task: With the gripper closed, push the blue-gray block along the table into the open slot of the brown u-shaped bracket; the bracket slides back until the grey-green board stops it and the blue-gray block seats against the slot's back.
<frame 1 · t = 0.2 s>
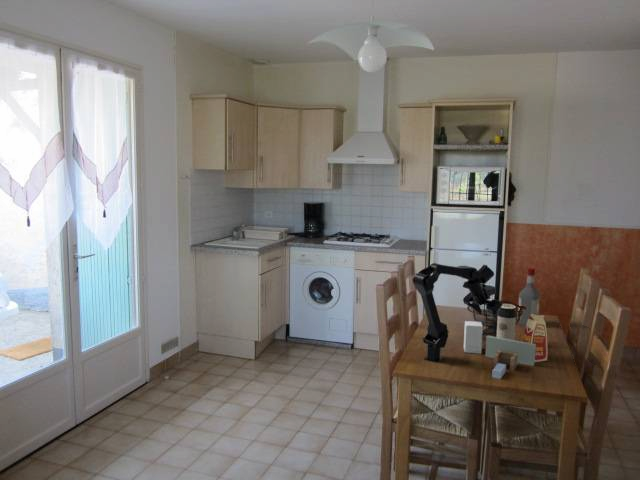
hand: (488, 316, 238), 15 cm above the table, tool tilted 30°, fingers open, 9 cm apart
brown u-shaped bracket: (505, 366, 218), on the table
travel mug: (505, 343, 247), on the table
liquor: (527, 324, 276), on the table
milk carton: (533, 358, 228), on the table
blue-gray block: (498, 374, 209), on the table
backstop board: (509, 360, 224), on the table
supplement box: (472, 350, 236), on the table
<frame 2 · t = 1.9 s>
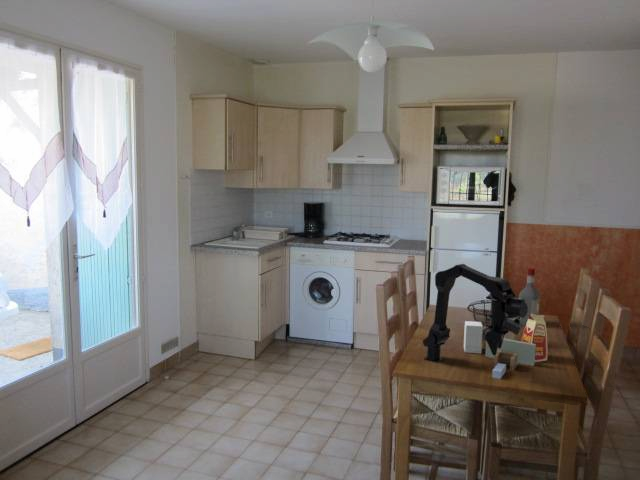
hand: (496, 351, 200), 12 cm above the table, tool pointing down, fingers open, 9 cm apart
nothing on the table moved.
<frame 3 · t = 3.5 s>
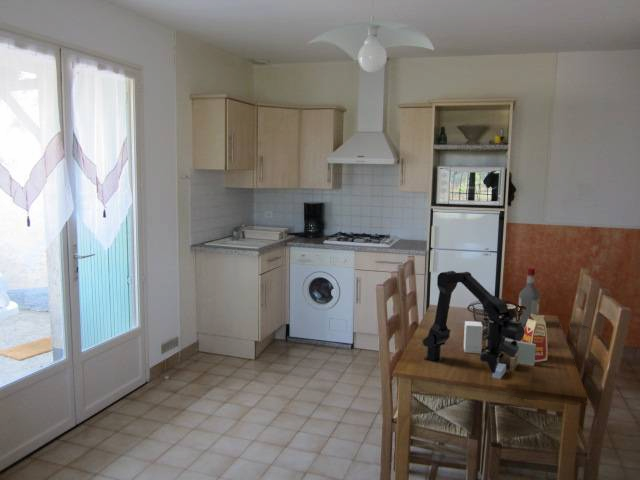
hand: (493, 372, 201), 4 cm above the table, tool pointing down, fingers closed
nothing on the table moved.
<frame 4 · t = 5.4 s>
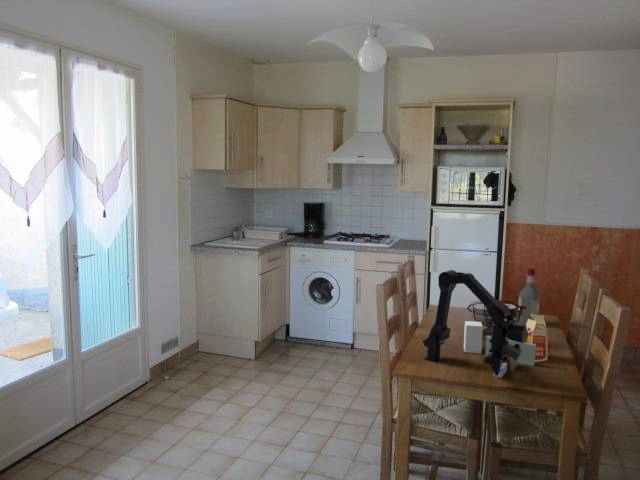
hand: (496, 375, 206), 1 cm above the table, tool pointing down, fingers closed
blue-gray block: (500, 373, 211), on the table, touching gripper
everything else where it was.
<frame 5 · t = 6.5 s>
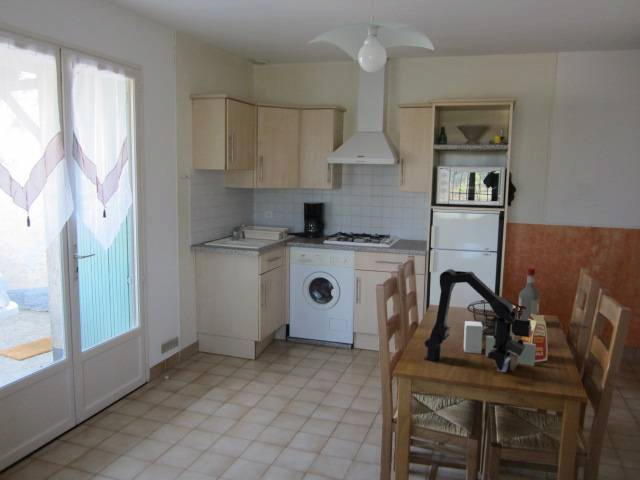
hand: (500, 370, 211), 1 cm above the table, tool pointing down, fingers closed
brown u-shaped bracket: (505, 365, 218), on the table, touching blue-gray block
blue-gray block: (504, 367, 216), on the table, touching gripper, brown u-shaped bracket
everything else where it was.
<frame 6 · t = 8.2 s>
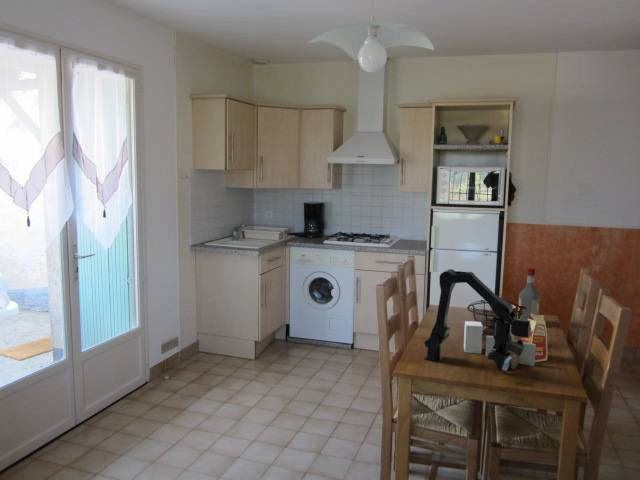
hand: (500, 370, 210), 1 cm above the table, tool pointing down, fingers closed
brown u-shaped bracket: (506, 364, 220), on the table
blue-gray block: (505, 366, 218), on the table
everything else where it was.
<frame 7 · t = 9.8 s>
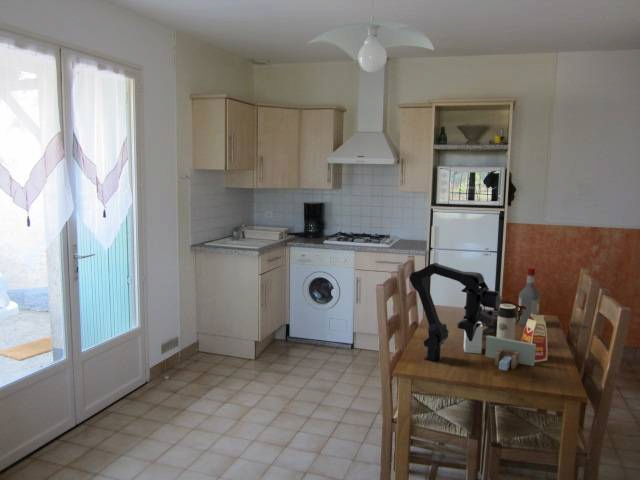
hand: (470, 340, 213), 12 cm above the table, tool pointing down, fingers closed
nothing on the table moved.
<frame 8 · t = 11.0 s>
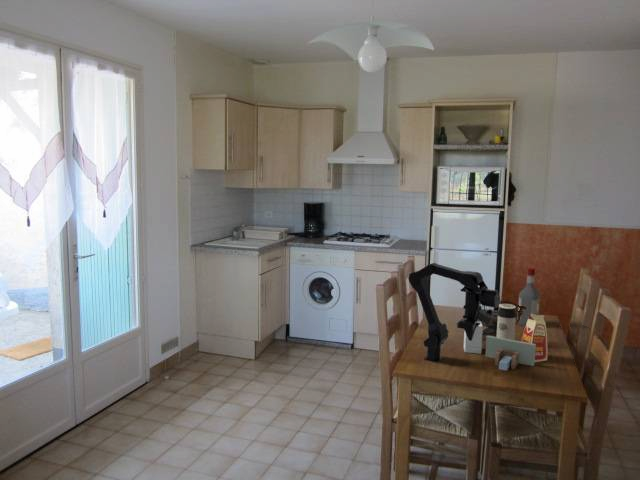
hand: (470, 340, 213), 12 cm above the table, tool pointing down, fingers closed
nothing on the table moved.
at the end: blue-gray block 0.2 cm from the target spot on the brown u-shaped bracket, point 0.0 cm above the brown u-shaped bracket's base; brown u-shaped bracket 0.7 cm from the target spot, on the table; blue-gray block on the table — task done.
